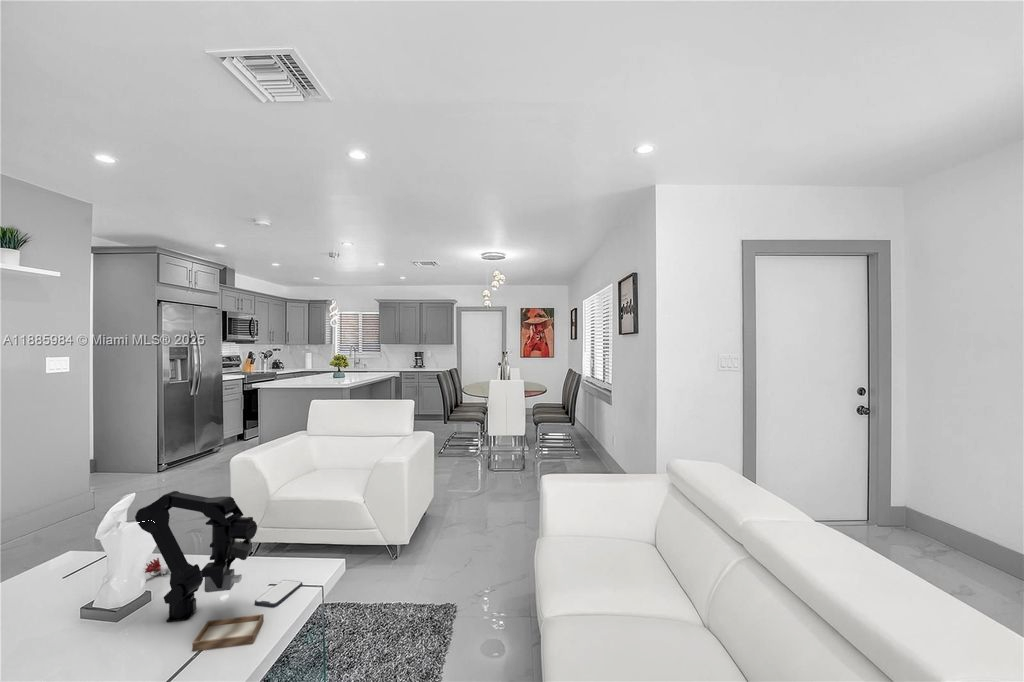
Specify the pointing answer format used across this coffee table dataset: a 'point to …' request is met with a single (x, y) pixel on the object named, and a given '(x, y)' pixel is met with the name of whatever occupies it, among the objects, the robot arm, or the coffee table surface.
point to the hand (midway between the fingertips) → (222, 584)
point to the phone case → (278, 593)
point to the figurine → (157, 567)
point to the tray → (228, 632)
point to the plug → (227, 582)
